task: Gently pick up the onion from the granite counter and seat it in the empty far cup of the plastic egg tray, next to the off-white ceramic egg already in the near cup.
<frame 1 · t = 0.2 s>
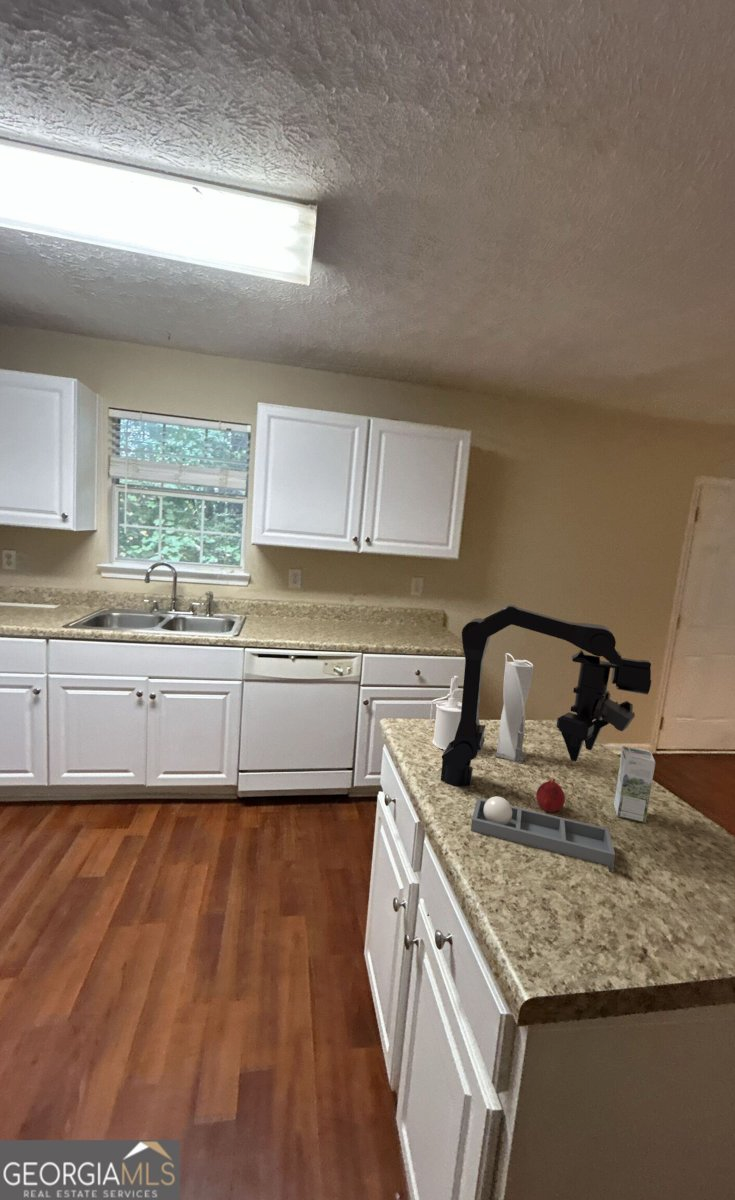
hand: (581, 755, 108), 13 cm above the table, fingers open, 9 cm apart
egg tray: (538, 840, 99), on the table
syrup box: (628, 815, 111), on the table
onion: (548, 814, 109), on the table
skyscraper: (508, 755, 139), on the table
ceramic egg: (496, 824, 101), point 1 cm above the table, touching egg tray
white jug: (446, 745, 142), on the table
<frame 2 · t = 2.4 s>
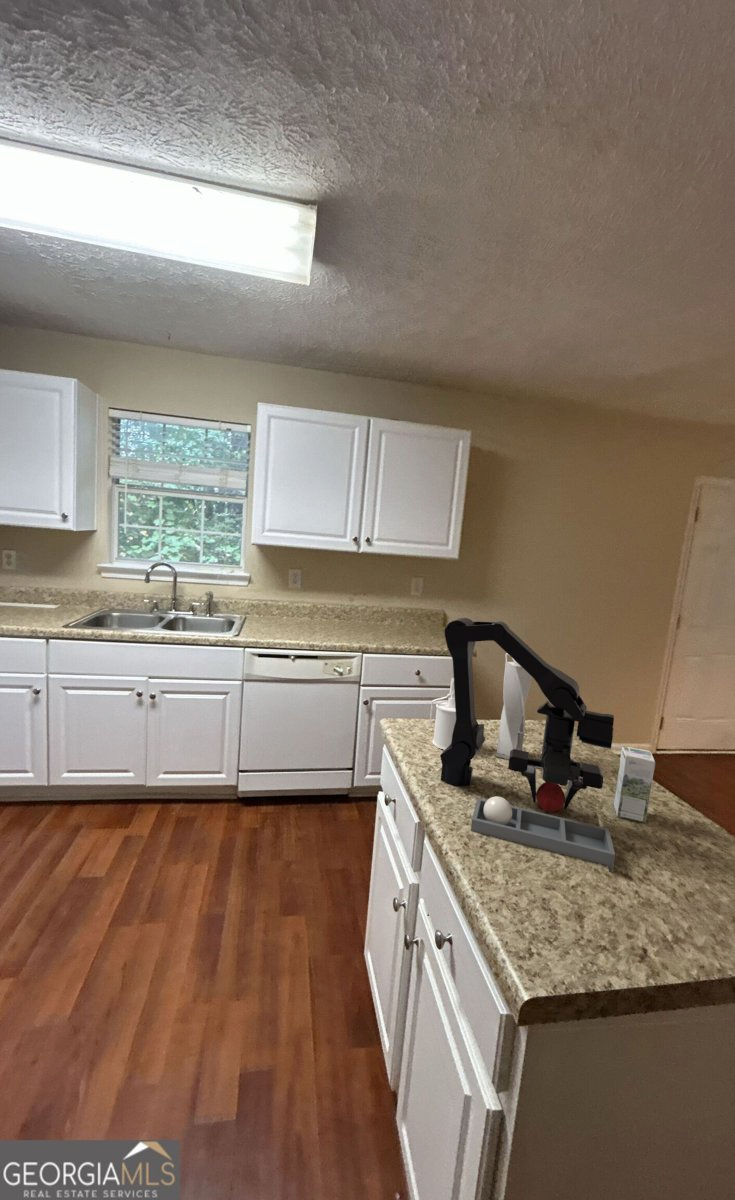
hand: (549, 805, 109), 2 cm above the table, fingers closed on onion, 6 cm apart
onion: (548, 814, 109), on the table, touching gripper
everything else where it was.
when the fingers open (4 cm above the table, at t = 6.6 s): onion drops 1 cm, resting on egg tray.
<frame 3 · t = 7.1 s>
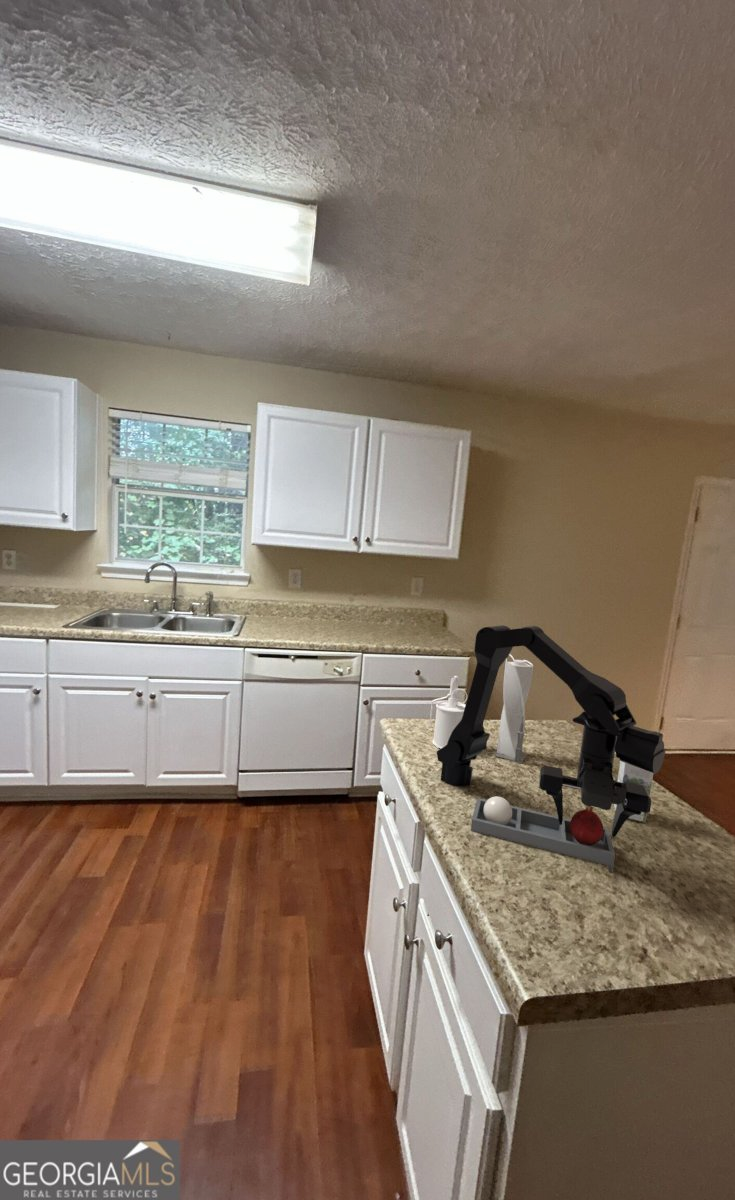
hand: (586, 829, 95), 4 cm above the table, fingers open, 9 cm apart
onion: (583, 846, 96), point 1 cm above the table, touching egg tray
everything else where it was.
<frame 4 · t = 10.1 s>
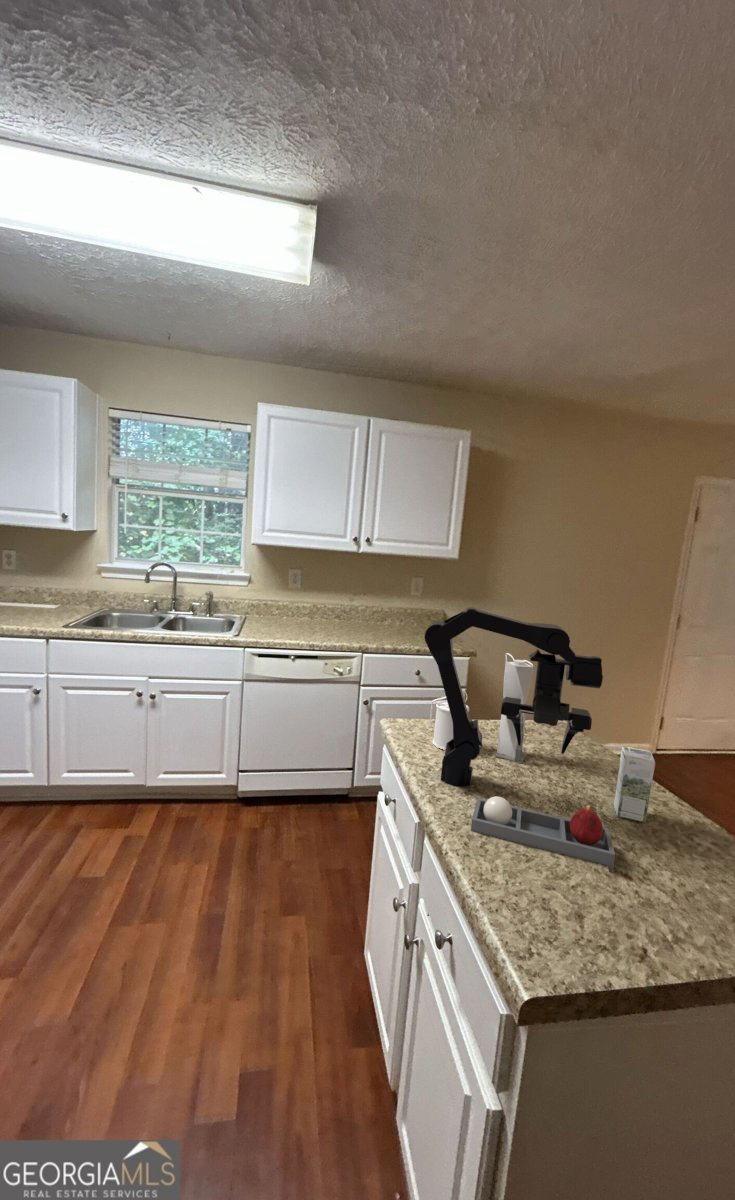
hand: (540, 749, 113), 12 cm above the table, fingers open, 9 cm apart
nothing on the table moved.
at the end: onion 0.1 cm from the target spot on the egg tray, point 1.0 cm above the egg tray's base; the gripper is holding nothing; ceramic egg moved 0.1 cm from its start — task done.
